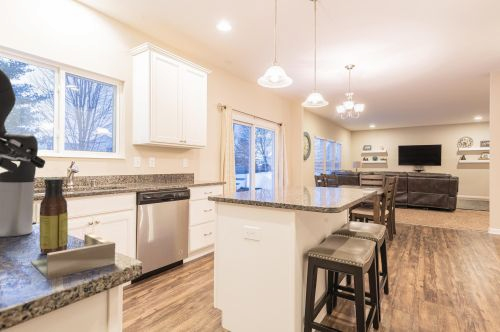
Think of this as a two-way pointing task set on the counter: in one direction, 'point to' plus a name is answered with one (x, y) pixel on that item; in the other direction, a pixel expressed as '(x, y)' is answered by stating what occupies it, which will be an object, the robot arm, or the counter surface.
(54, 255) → the beige l-shaped piece
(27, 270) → the counter surface
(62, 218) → the sauce bottle
